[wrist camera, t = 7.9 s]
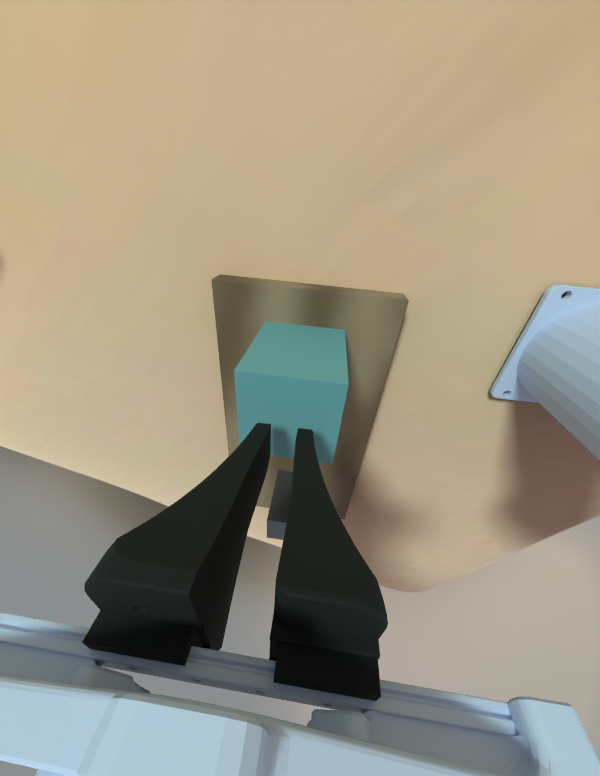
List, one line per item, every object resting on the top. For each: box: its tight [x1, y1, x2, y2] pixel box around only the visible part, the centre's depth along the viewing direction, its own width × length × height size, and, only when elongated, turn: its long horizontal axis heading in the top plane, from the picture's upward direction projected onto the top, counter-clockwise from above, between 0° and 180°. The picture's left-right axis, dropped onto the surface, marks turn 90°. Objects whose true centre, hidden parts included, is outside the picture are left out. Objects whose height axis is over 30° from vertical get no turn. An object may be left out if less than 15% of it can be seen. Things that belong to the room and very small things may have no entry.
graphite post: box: [267, 470, 293, 540], centre depth 24 cm, size 3×3×5 cm
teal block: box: [234, 321, 349, 464], centre depth 16 cm, size 5×5×7 cm
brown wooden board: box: [212, 275, 409, 519], centre depth 23 cm, size 12×23×2 cm, turn 176°
